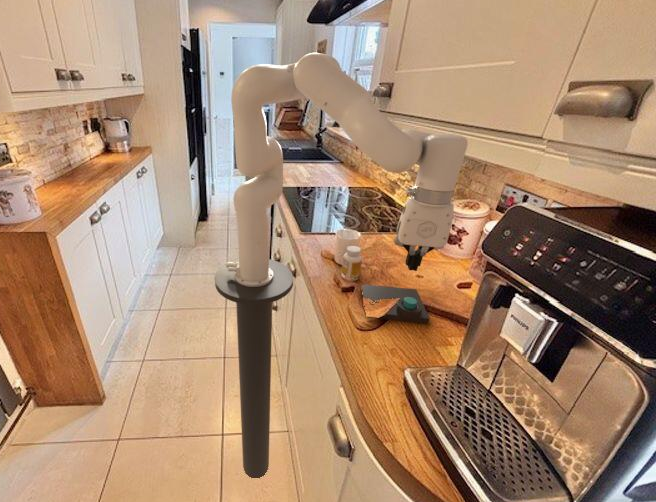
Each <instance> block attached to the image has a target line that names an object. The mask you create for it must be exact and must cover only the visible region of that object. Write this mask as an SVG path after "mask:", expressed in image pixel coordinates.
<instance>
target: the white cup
mask: <svg viewBox="0 0 656 502" xmlns="http://www.w3.org/2000/svg"><path fill="white" fill-rule="evenodd" d="M361 237H362V234H361V233H360V232H359V231H357V230H354V229H352V228H351V229H350V228H340V229H338V230H336V231H335V238H334V258H333V259H334V262H335V263H336V264H338V265H341V266H342V263H343V256H344V254H345V253H347V252H346V251H347V247H349V246H356V247H359V248H360V242H361Z"/></svg>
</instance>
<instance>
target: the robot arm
mask: <svg viewBox="0 0 656 502" xmlns="http://www.w3.org/2000/svg"><path fill="white" fill-rule="evenodd" d="M230 99H231V100H230V102H231V110H232V117H233V131H234V132H233V136H234V150H235V163H236V168H237V170H238V171H239V173H240V174H241V175H243V176H245V177H253V178H251V179H249V180H246V181H244V182H242V183H241V184H240V185H239V186H238V187H237V188H236V190H235V191H234V193H233V207H234V210H235V211H234V212H235V216H236V224H237V245H238V250H237V251H238V259H239V262H236V263H233V262H232V261H227V262H226V263H225V264H226V267H227V268H228V271H235V280H236V281H237V282H238V283H239V284H241V285H244V286H248V287H260V286H264V285H266V284H268V283H270V282H271V281H272V280H273V271H272V270H271V269H270V268H269V259H270V222H269V221H270V220H269V218H268V215H267V209H269V207H271V206H273V205H274V204H276V203H278V201H279V200H280V198H281V197H282V195H283V190H284V154H283V149H282V147H281V145H280V143H279V142H278V140H277V139H276V138H274V137H272V136H269V135H267V134H268V133H267V129H268V128H267V127H268V126H267V125H268V124H267V118H266V114H265V112H264V106H266V105H271V104H282V103H287V102H288V103H289V102H292V101H299V100H306V99H307V100H309V101H310V102H311V103H313V104H314V105H315V106H316V107H317V108H318V109H320V110H321V111H322V112H323V113H324V114H326V115H327V116H328V117H329V118H331V119H332V120H333V121H334V122H335V123H336V124H338V125H339V126H340V128H341V129H342V131H343V132H344V133H345V135H347V137H348V138H349V139H350V140H351V142H353V144H354V145H355V146H356V147H357V148H358V149H359V150H360V151H361V152H363V154H364V155H366V157H368V158H370V159H371V160H372V162H374V163H375V164H376V165H378V166H379V167H380V168H382V169H384V170H386V171H388V172H389V173H395V174H400V173H405V172H408V171H409V170H411V169H412V168H413V167H415V166H416V165H417V166H418V170H417V175H416V178H415V183H414V184H413V186H412V187H407V188H406V190H405V194H406V195H410V197H408V199H407V201H406V202H405V204H404V206H403V209H402V212H401V215H400V216H399V217H400V218H399V220H398V223H397V226H396V233H395V234H396V236H395V237H394V239H393V243H394V245H396V246H398V247H401V248H404V250H405V251H407V253H406V258H405V266H407V268H408V270H409V271H413V272H417V271H418V268H419V267H420V266H421V264H422V261H423V257H425V256H426V255H427V254H428V253H430V252H431V251H433V250H443V249H444V248H445V246H446V245H447V243H448V241H449V237H450V234H451V228H452V224H453V223H452V222H453V218H454V217H453V216H454V207H455V205H454V203H453V202H452V201H451V200H452V197H453V194H454V191H455V188H456V184H457V180H458V178H459V175H460V172H461V168H462V165H463V162H464V159H465V156H466V152H467V149H468V144H469V142H468V138H466V136H463V135H459V134H455V133H454V134H453V133H432V132H426V131H422V130H417V129H410V128H406V129H401V128H400V127H398V126H397V125H396V124H395V123H393V122H392V121H391V120H390V119H388V118H387V117H386V116H385V115H384V114H383V113H382V112H381V111H380V110H379V109H378V108H377V106H376V104H375V103H374V101H373V99H372V96H371V93H369V91H368V90H367V89H366V88H365V87H364V86H363V85H362V84H360V83H358V82H357V80H354V79H353V78H352V77H351V76H350V75H348V74H347V73H346V72H345V71H344V70H342V67H341V64H340V63H339V61H338V60H337V59H336V58H335V57H334V56H332V55H330V54H325V53H321V52H310V53H307V54H305V55H303V56H302V57H301V58H300V59H298V61H297V62H295V63H290V64H289V63H288V64H285V65H277V64H270V63H269V64H268V63H260V64H255V65H252V66H250V67H248V68H246V69H245V70H243V71H242V72H241V73H240V74H239V76H237V78H236V80H235V81H234V83H233V85H232V89H231V97H230ZM416 248H417V249H416Z"/></svg>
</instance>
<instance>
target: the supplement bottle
mask: <svg viewBox="0 0 656 502" xmlns="http://www.w3.org/2000/svg"><path fill="white" fill-rule="evenodd" d="M346 252H347V253H345V254H344V256H343V263H342V265H341V271H342V273H343V274H344V275H345V276H347V277H350V278H354V279H350V278H346V277H345V278H346V279H347V280H346V281H349V282H353V281H357V280H358V279H359V278H360V273H361V266H362V260H363V258H362V257H363V256H362V255H361V253H362V249H361V248H360V246H359V247H356V246H349V247H347V251H346ZM358 276H359V277H358ZM357 277H358V278H357Z"/></svg>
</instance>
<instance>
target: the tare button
mask: <svg viewBox="0 0 656 502" xmlns="http://www.w3.org/2000/svg"><path fill="white" fill-rule="evenodd" d="M416 305H417V300H416V299H414V298H412V297H406V298H404V302H403V306H404V307H405V308H408V309H415V308H416Z"/></svg>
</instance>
